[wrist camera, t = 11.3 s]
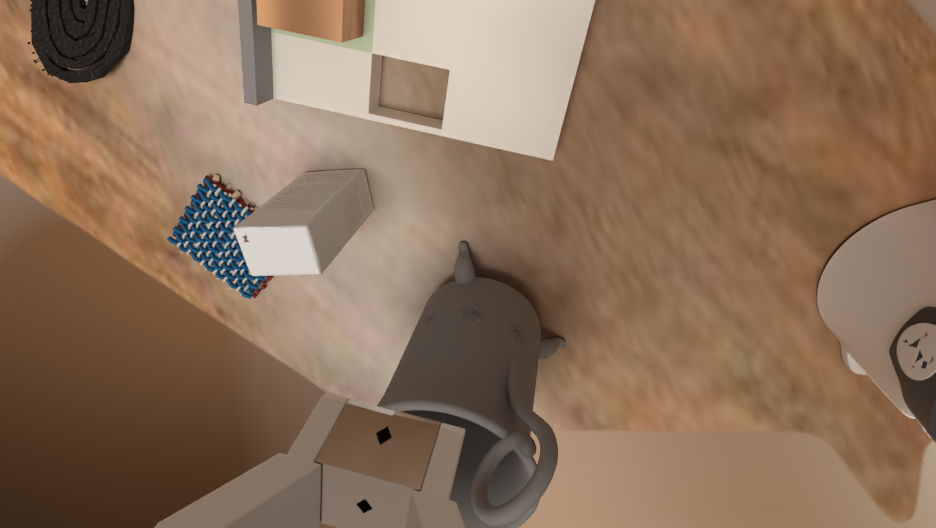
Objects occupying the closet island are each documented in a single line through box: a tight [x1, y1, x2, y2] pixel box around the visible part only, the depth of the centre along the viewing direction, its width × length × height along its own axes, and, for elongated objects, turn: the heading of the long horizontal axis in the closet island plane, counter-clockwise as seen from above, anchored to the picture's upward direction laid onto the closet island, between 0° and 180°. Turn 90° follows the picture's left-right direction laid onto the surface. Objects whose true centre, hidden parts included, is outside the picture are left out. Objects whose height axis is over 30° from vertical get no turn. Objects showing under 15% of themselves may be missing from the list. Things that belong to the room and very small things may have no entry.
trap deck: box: [238, 0, 595, 161], centre depth 36 cm, size 24×18×5 cm
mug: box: [377, 242, 565, 528], centre depth 40 cm, size 19×15×25 cm
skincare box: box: [233, 169, 373, 276], centre depth 42 cm, size 6×4×12 cm
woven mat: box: [167, 175, 272, 298], centre depth 52 cm, size 10×11×2 cm
